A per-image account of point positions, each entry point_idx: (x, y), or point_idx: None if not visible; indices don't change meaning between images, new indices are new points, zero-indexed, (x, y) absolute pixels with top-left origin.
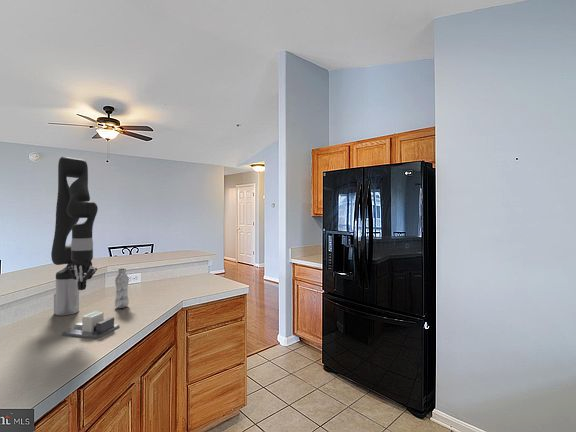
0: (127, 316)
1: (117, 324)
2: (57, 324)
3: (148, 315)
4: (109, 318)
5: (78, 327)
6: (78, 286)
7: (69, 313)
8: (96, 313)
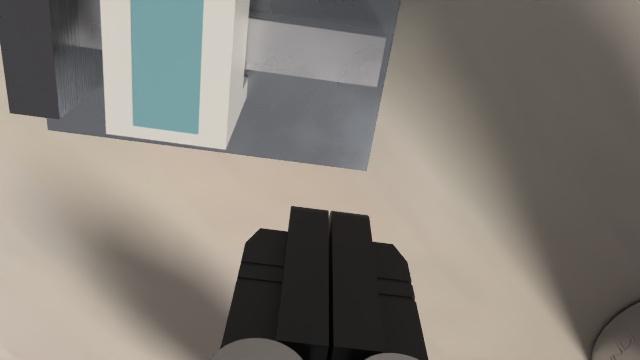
0: (163, 309)
1: (65, 130)
2: (606, 134)
3: (25, 333)
4: (29, 81)
5: (337, 25)
6: (360, 253)
7: (628, 316)
8: (150, 92)
